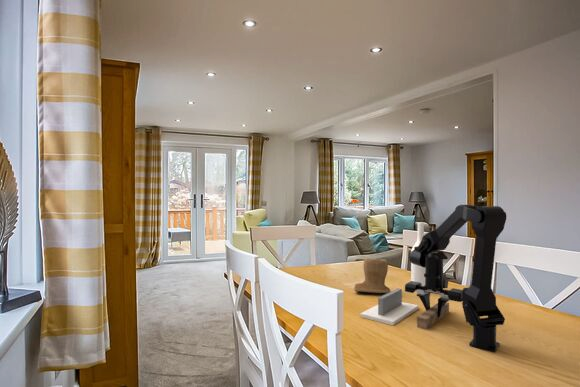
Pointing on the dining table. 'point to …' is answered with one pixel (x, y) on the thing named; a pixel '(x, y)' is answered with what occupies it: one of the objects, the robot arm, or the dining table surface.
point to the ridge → (390, 308)
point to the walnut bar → (431, 316)
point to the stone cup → (374, 276)
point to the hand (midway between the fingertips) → (434, 315)
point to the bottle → (416, 270)
